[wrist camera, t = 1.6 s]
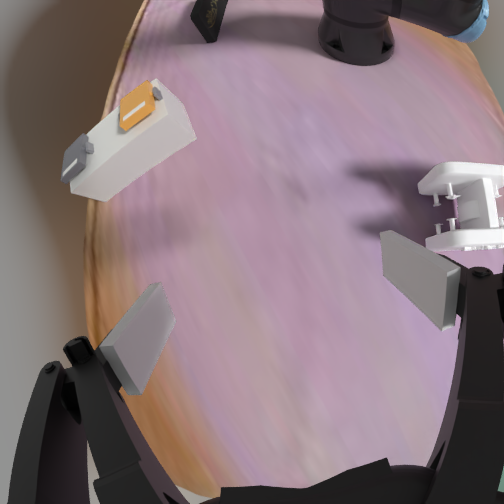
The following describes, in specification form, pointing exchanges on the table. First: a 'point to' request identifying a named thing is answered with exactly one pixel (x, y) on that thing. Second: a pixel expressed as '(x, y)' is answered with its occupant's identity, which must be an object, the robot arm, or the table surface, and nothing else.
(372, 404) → the table surface
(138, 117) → the rocker orange
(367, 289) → the table surface
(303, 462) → the table surface
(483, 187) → the cable organizer
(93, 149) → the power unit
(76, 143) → the rocker charcoal
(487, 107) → the table surface
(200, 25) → the nameplate
